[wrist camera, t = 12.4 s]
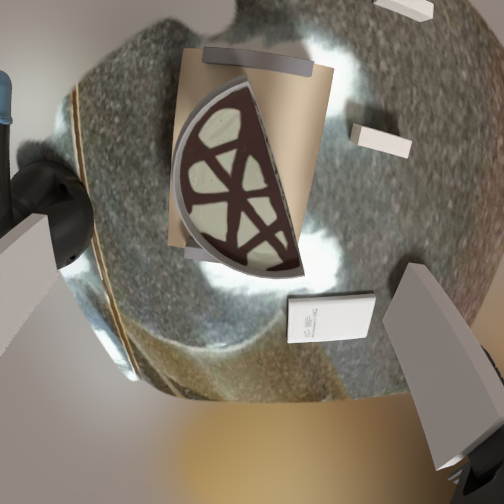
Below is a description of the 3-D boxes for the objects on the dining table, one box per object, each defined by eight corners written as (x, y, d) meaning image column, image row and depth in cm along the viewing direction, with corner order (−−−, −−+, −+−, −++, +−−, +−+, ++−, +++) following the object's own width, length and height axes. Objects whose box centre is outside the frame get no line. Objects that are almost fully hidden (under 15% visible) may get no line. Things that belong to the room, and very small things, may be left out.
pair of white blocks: (349, 140, 31) (357, 145, 28) (374, -11, 21) (384, -18, 19) (396, 152, 31) (407, 158, 28) (421, 8, 22) (433, 4, 19)
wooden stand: (185, 212, 36) (162, 256, 27) (201, 57, 27) (177, 44, 18) (286, 226, 36) (295, 273, 27) (316, 73, 27) (340, 66, 19)
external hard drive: (363, 331, 46) (286, 337, 46) (372, 290, 42) (288, 295, 42) (365, 338, 44) (287, 344, 45) (376, 297, 40) (289, 303, 41)
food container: (176, 104, 22) (128, 114, 13) (250, 79, 21) (245, 70, 12) (225, 234, 28) (210, 305, 19) (291, 216, 27) (306, 282, 18)
